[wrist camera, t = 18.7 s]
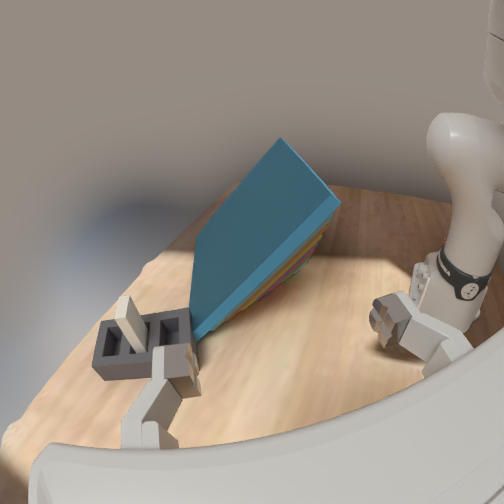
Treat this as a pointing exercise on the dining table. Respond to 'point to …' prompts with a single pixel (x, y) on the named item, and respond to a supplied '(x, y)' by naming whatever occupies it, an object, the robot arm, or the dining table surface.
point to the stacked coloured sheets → (258, 237)
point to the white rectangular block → (132, 324)
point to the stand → (124, 356)
